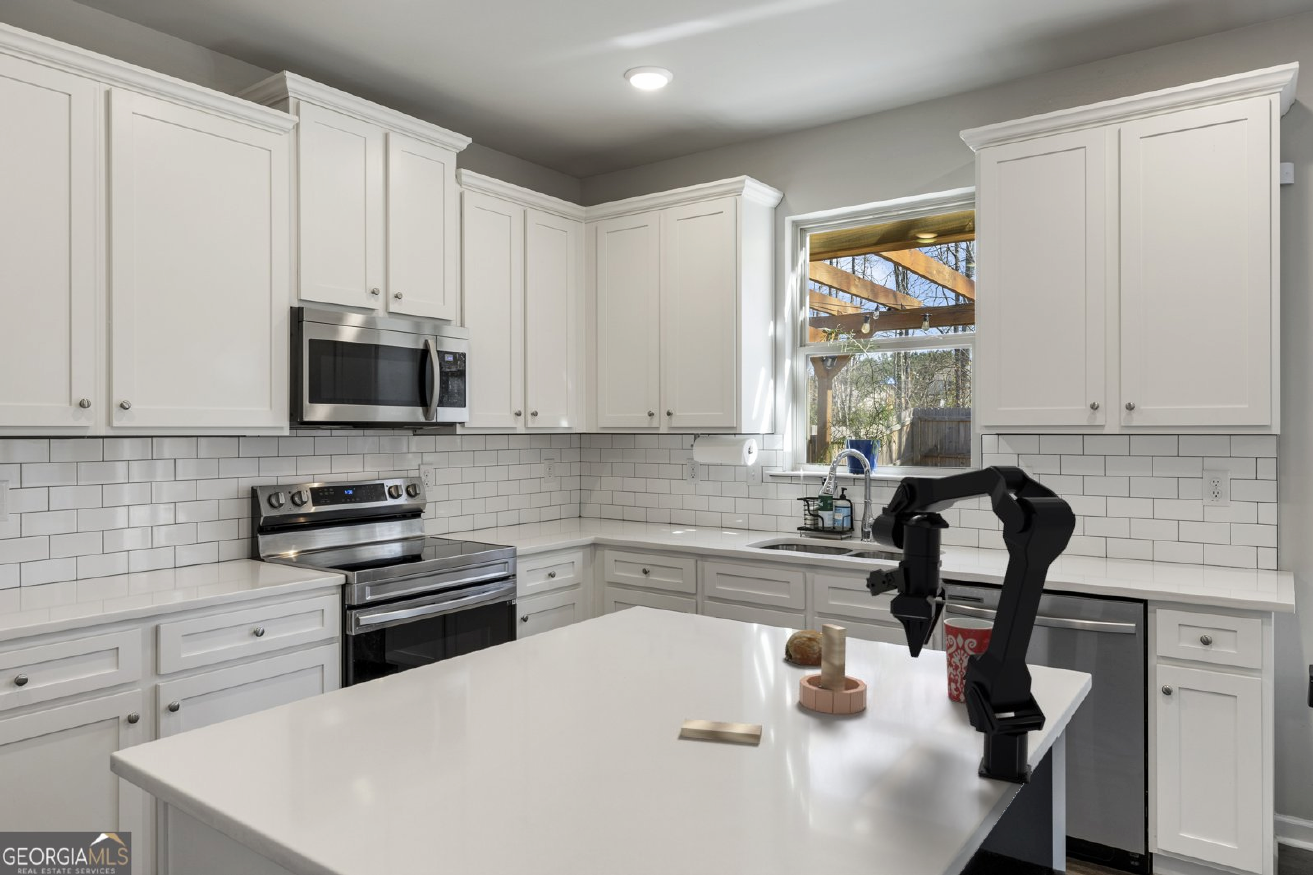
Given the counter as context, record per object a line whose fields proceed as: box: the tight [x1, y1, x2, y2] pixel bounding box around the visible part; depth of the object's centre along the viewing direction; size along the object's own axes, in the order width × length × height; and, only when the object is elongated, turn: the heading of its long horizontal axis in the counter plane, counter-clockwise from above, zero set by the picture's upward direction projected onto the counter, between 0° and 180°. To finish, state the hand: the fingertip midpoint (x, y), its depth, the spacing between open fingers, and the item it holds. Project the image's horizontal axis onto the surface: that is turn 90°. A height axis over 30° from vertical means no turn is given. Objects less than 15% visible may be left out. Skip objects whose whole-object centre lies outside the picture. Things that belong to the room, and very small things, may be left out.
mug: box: [943, 617, 994, 704], centre depth 149 cm, size 13×9×14 cm
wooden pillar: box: [818, 623, 847, 691], centre depth 146 cm, size 5×5×13 cm
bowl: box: [798, 673, 868, 715], centre depth 146 cm, size 11×11×4 cm
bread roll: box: [784, 629, 822, 667], centre depth 174 cm, size 10×10×8 cm
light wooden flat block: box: [680, 718, 763, 744], centre depth 129 cm, size 12×4×2 cm, turn 78°
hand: (919, 650), depth 136 cm, fingers open, 9 cm apart
